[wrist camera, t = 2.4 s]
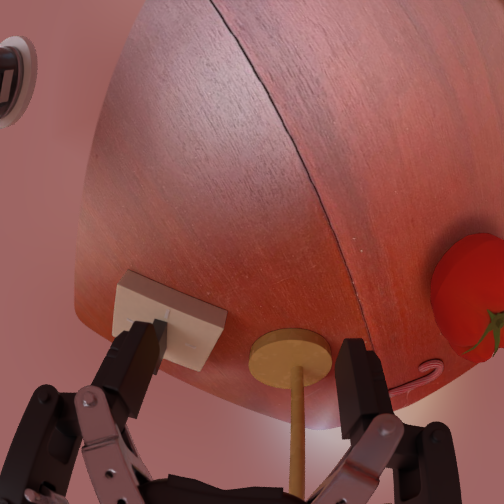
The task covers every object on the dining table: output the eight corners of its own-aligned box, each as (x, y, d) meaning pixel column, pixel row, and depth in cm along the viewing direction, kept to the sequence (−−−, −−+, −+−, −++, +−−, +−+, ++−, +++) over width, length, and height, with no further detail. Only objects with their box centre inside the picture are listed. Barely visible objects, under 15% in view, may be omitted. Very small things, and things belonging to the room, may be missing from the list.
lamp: (238, 365, 39) (207, 563, 14) (271, 317, 34) (250, 580, 9) (340, 392, 41) (349, 558, 16) (383, 354, 36) (417, 548, 11)
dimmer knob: (166, 348, 34) (155, 377, 30) (154, 344, 34) (143, 373, 30) (167, 321, 31) (154, 352, 27) (154, 318, 31) (140, 348, 27)
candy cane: (357, 385, 40) (358, 392, 39) (442, 352, 36) (445, 359, 34) (364, 400, 43) (365, 407, 42) (442, 371, 38) (444, 377, 37)
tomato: (445, 203, 24) (510, 264, 14) (514, 234, 25) (566, 287, 15) (397, 302, 31) (428, 380, 21) (470, 313, 31) (504, 374, 21)
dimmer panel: (120, 320, 37) (111, 336, 34) (127, 268, 32) (116, 284, 29) (204, 355, 39) (199, 373, 36) (227, 310, 34) (223, 329, 31)
